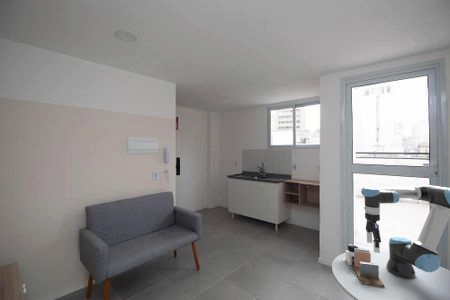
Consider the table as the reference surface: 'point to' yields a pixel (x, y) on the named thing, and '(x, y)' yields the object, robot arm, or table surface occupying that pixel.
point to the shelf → (367, 280)
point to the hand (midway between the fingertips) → (373, 247)
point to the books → (361, 256)
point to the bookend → (369, 270)
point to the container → (350, 254)
